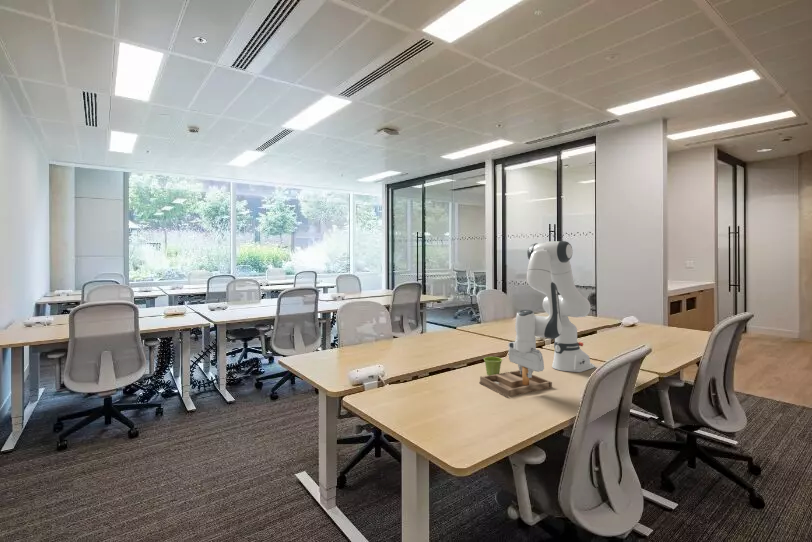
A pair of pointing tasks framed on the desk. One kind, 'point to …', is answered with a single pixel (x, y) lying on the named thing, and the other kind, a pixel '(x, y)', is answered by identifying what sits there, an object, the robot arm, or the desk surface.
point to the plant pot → (492, 365)
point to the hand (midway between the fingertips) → (525, 376)
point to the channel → (513, 383)
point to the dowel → (525, 376)
